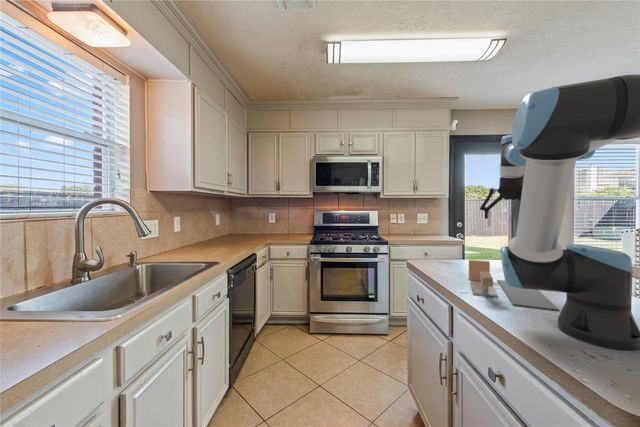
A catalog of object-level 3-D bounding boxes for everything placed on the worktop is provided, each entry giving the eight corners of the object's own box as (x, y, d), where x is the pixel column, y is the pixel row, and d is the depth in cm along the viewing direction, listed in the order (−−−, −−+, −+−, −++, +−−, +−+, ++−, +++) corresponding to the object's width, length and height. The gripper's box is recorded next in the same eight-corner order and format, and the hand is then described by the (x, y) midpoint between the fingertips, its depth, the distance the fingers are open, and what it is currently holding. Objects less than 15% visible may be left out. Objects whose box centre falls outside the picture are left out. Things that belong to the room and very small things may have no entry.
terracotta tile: (489, 281, 115) (489, 261, 114) (469, 279, 118) (468, 260, 118) (489, 280, 116) (488, 260, 116) (468, 278, 120) (468, 259, 120)
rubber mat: (558, 311, 83) (558, 309, 83) (513, 305, 88) (513, 303, 88) (530, 284, 110) (530, 282, 110) (496, 281, 115) (496, 279, 115)
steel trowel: (501, 304, 89) (501, 279, 89) (474, 301, 93) (474, 276, 93) (491, 285, 110) (491, 264, 110) (469, 283, 113) (469, 263, 113)
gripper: (554, 172, 94) (549, 227, 100) (476, 175, 110) (475, 221, 116) (555, 176, 89) (549, 234, 95) (472, 178, 105) (472, 227, 111)
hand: (508, 227), depth 105 cm, fingers open, 13 cm apart
